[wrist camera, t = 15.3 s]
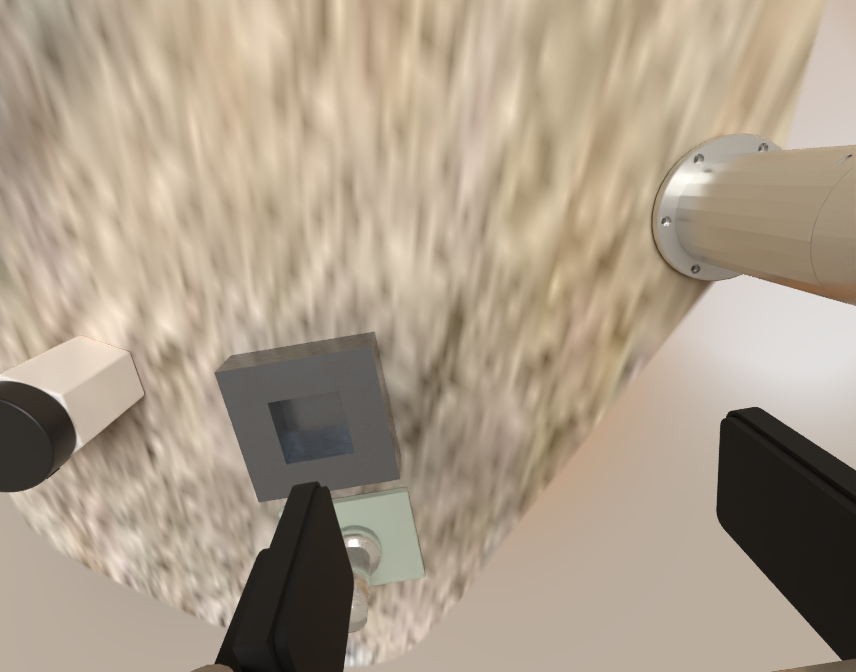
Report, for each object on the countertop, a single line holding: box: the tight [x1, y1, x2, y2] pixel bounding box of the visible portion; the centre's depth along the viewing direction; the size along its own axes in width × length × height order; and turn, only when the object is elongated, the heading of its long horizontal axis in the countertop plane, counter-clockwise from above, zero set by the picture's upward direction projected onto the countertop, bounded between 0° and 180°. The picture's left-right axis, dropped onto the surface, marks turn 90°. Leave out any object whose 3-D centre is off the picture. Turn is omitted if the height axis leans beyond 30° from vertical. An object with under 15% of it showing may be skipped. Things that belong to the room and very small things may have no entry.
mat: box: [278, 487, 425, 586], centre depth 52 cm, size 14×12×1 cm
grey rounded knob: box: [341, 525, 380, 633], centre depth 47 cm, size 6×6×9 cm
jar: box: [0, 335, 144, 492], centre depth 39 cm, size 9×8×12 cm
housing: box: [214, 332, 401, 502], centre depth 45 cm, size 14×14×4 cm
